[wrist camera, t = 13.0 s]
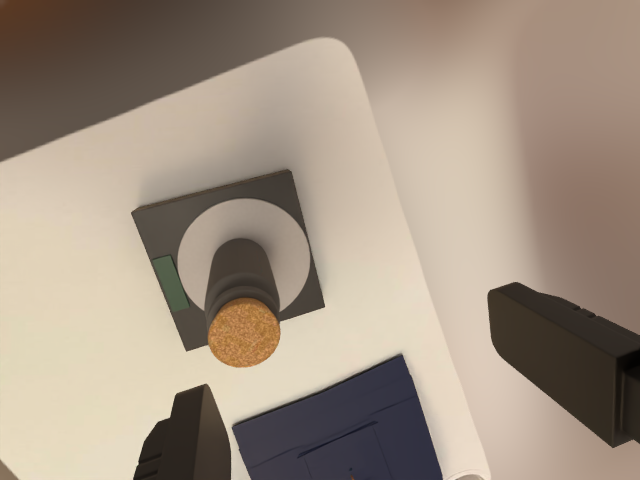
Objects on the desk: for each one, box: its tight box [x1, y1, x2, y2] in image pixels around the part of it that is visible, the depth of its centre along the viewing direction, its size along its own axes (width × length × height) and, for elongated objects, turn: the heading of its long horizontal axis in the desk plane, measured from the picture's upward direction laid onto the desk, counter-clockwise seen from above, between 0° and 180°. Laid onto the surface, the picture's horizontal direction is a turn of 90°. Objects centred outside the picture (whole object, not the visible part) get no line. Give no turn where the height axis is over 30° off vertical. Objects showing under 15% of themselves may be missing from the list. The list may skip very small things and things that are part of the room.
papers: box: [232, 355, 443, 480], centre depth 52 cm, size 24×30×4 cm
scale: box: [131, 169, 325, 351], centre depth 40 cm, size 16×16×3 cm
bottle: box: [204, 238, 280, 367], centre depth 31 cm, size 6×6×15 cm
